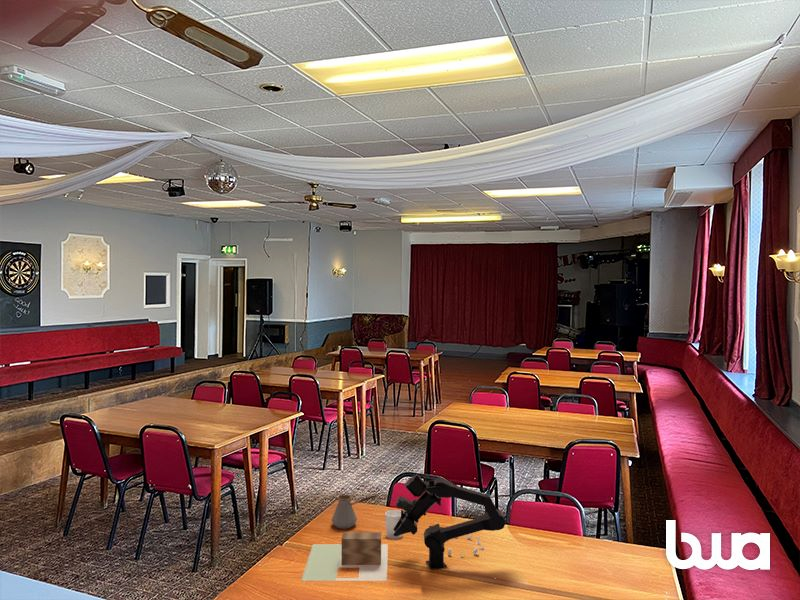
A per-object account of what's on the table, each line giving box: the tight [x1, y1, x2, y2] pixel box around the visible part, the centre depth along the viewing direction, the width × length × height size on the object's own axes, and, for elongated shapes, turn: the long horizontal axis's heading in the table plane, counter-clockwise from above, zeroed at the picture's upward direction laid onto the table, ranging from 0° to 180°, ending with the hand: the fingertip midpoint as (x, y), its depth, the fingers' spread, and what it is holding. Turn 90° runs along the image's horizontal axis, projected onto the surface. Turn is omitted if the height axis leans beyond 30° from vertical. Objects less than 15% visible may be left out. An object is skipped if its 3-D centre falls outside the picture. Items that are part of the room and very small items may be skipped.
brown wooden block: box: [341, 531, 382, 565], centre depth 227 cm, size 15×6×10 cm, turn 90°
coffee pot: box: [331, 494, 379, 530], centre depth 263 cm, size 21×12×15 cm, turn 79°
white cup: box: [384, 509, 403, 540], centre depth 253 cm, size 8×8×10 cm
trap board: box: [301, 543, 389, 582], centre depth 227 cm, size 31×30×2 cm
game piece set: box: [447, 534, 485, 558], centre depth 243 cm, size 19×20×4 cm
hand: (394, 532), depth 227 cm, fingers open, 5 cm apart
